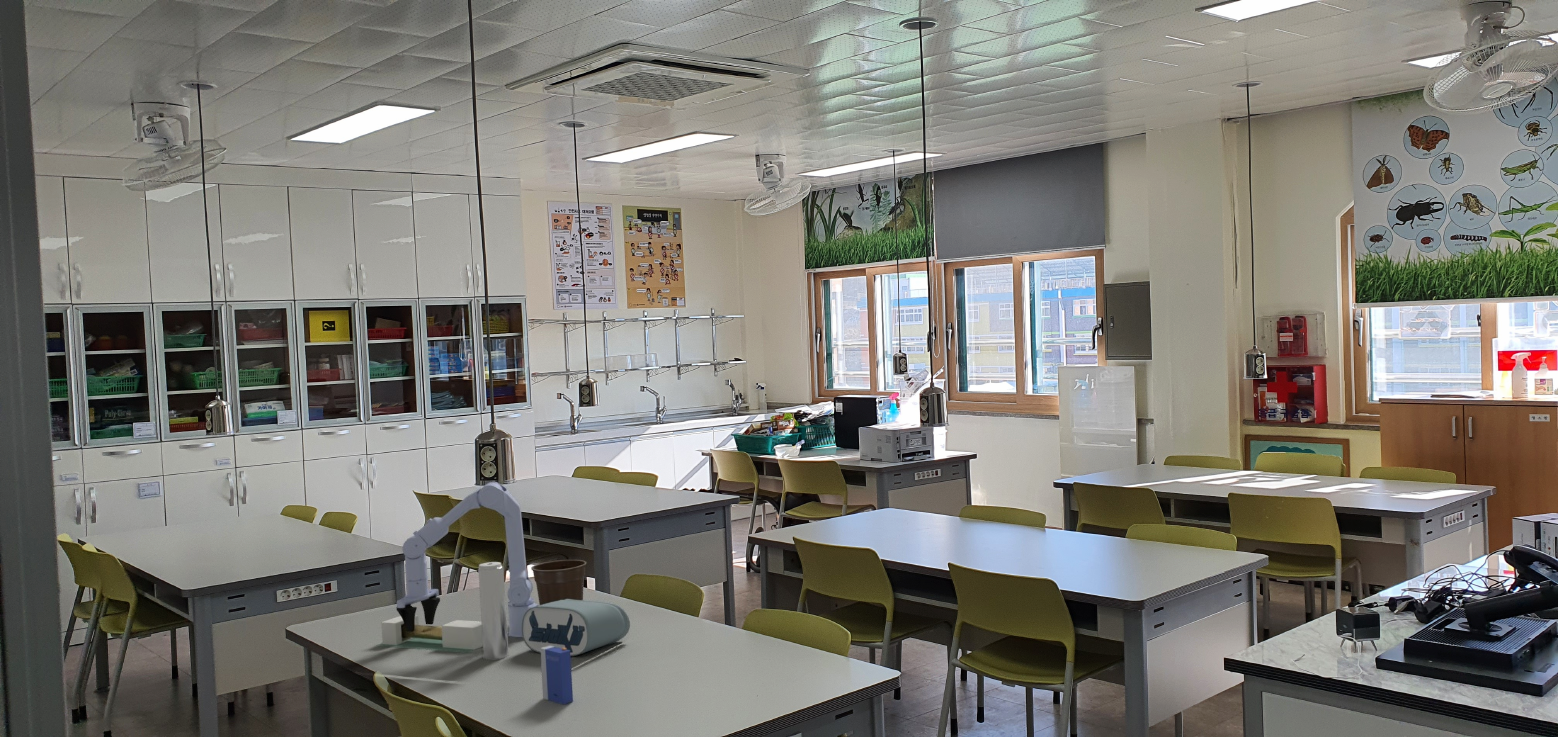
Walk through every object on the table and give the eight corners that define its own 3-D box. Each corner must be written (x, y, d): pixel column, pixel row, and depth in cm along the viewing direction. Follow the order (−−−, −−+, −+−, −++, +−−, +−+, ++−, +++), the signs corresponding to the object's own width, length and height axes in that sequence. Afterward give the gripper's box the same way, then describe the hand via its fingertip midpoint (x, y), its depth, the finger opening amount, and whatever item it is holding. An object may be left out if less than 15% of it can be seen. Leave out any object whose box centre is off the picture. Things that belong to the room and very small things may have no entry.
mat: (496, 642, 303) (496, 640, 303) (468, 654, 292) (468, 652, 292) (406, 635, 316) (406, 633, 316) (376, 647, 305) (375, 645, 305)
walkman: (573, 701, 248) (570, 648, 247) (563, 704, 246) (560, 651, 245) (552, 695, 253) (549, 643, 253) (542, 698, 251) (539, 646, 251)
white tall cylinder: (502, 661, 283) (496, 565, 283) (478, 661, 284) (473, 565, 284) (513, 654, 289) (507, 560, 289) (490, 654, 291) (484, 560, 290)
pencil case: (521, 653, 290) (520, 604, 290) (567, 638, 307) (566, 592, 307) (588, 660, 280) (587, 610, 280) (632, 644, 296) (631, 596, 297)
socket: (419, 636, 312) (418, 615, 312) (396, 644, 304) (395, 623, 304) (405, 635, 314) (404, 614, 314) (382, 643, 306) (381, 622, 306)
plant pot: (529, 616, 332) (526, 563, 331) (581, 608, 338) (578, 556, 338) (541, 627, 317) (537, 572, 317) (595, 619, 324) (592, 565, 323)
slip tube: (465, 639, 302) (464, 625, 302) (455, 643, 299) (455, 629, 299) (406, 635, 311) (405, 621, 310) (396, 638, 307) (395, 625, 307)
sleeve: (489, 643, 300) (488, 621, 300) (474, 649, 295) (473, 627, 294) (458, 640, 305) (456, 619, 305) (442, 646, 299) (441, 625, 299)
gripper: (423, 573, 314) (426, 620, 314) (386, 584, 301) (390, 633, 301) (443, 573, 311) (446, 621, 311) (406, 585, 298) (410, 634, 298)
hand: (420, 627), depth 306 cm, fingers open, 7 cm apart
